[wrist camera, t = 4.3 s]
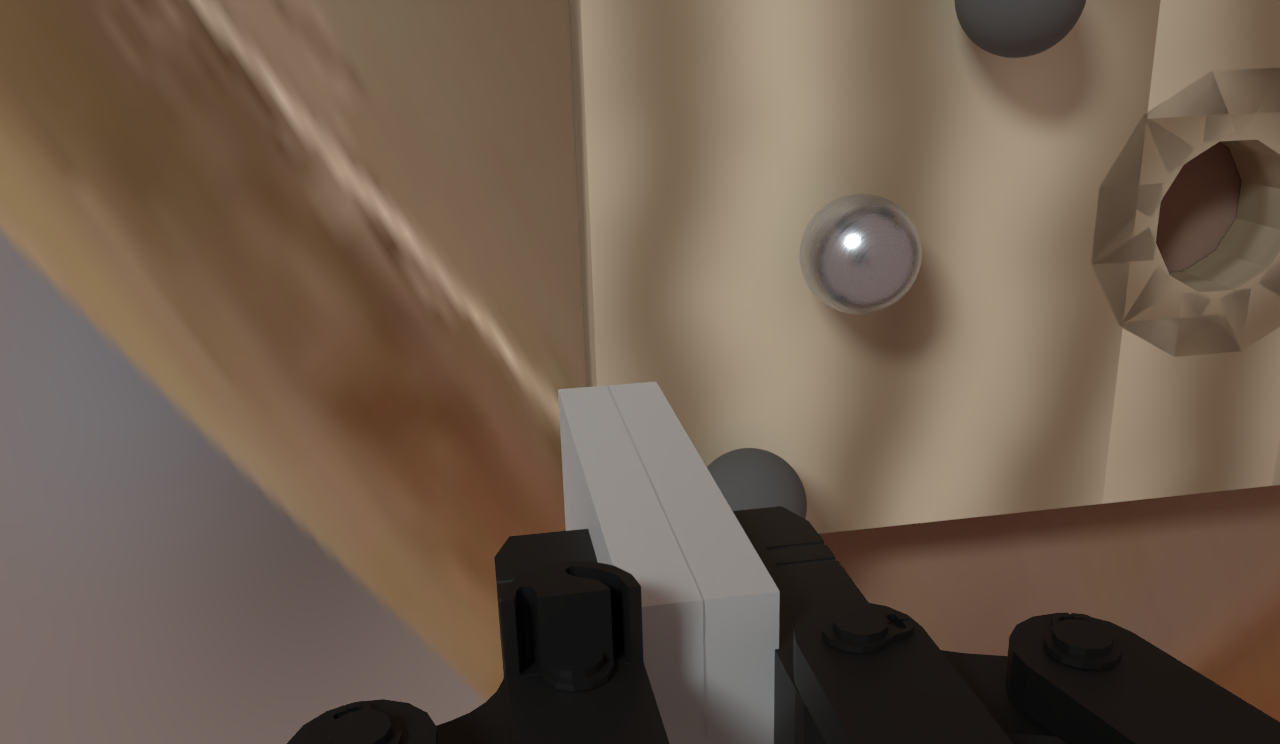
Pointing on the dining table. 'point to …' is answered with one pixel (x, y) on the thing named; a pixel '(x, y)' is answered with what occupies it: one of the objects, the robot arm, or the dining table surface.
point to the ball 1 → (758, 481)
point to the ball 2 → (1017, 24)
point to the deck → (936, 247)
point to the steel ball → (860, 254)
